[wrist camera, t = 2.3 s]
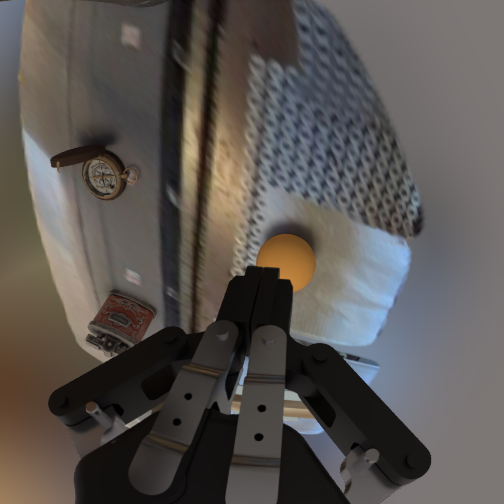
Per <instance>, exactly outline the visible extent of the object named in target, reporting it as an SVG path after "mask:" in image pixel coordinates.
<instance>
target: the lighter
mask: <svg viewBox="0 0 504 504" xmlns="http://www.w3.org/2000/svg"><path fill="white" fill-rule="evenodd" d="M156 314H157V310H156V308H155V307H154V306H152V305H151V304H149V303H147V302H145V301H144V300H142V299H140V298H137V297H135V296H133V295H131V294H128V293H125V292H122V291H119V290H115V289H114V290H112V291H111V292H110V294H109V296H108V299H107V300H106V302H105V303H104V305H103V306H102V308H101V309H100V311H99V312H98V314H97V315H96V317H95V318H94V320H93V321H91V322H90V323H89V325H88V329H89V330H90V332H91V333H92V334H94V335H95V336H97V337H95V336H93V335H91V334H88V336H87V337H86V339H85V342H86V344H87V345H89V346H91V347H93V348H95V349H97V350H101V351H103V352H104V355H105V356H107V357H112V356H114V357H115V356H117V355H119V354H120V353H122V352H124V351H126V350H127V349H129V348H131V347H133V346H134V345H136V344H138V343H139V342H141V340H142V338H143V336H144V334H145V332H146V330H147V328H148V326H149V325H150V323H151V321H152V319H154V317H155V316H156ZM103 340H104V341H103Z"/></svg>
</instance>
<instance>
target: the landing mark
mask: <svg viewBox="0 0 504 504" xmlns="http://www.w3.org/2000/svg"><path fill="white" fill-rule="evenodd" d="M242 390H243V385H238V387H237V390H236V393H235V394H239V395H242ZM284 400H293V401H301V400H300V398H299V397H298V394H297V393H295V392H292V391H290V390H285V393H284ZM234 414H239V411H236V410H234ZM283 420H285V421H297V422H298V420H299V418H297V417H285V416H283Z"/></svg>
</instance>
